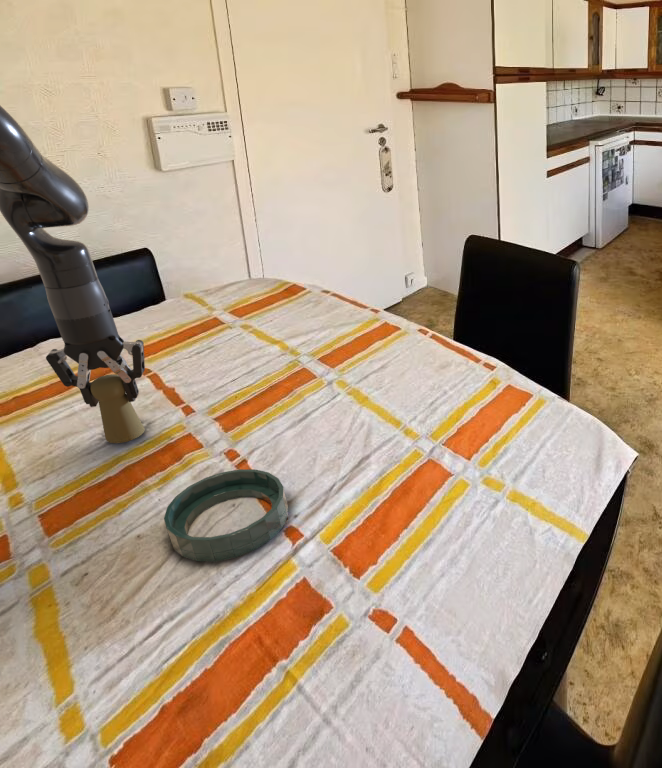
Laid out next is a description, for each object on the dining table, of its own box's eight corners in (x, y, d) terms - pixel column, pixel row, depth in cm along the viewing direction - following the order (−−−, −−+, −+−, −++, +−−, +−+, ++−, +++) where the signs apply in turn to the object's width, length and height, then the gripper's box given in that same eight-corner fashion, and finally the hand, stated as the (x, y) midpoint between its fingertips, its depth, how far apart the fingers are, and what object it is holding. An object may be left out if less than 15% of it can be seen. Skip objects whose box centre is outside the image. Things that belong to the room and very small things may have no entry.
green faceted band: (164, 580, 80) (153, 550, 78) (184, 506, 93) (175, 479, 91) (288, 555, 84) (281, 526, 81) (290, 488, 97) (284, 461, 94)
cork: (145, 436, 108) (126, 380, 103) (105, 446, 105) (84, 390, 100) (143, 421, 113) (125, 367, 108) (105, 430, 110) (84, 375, 105)
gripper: (19, 322, 93) (59, 419, 101) (126, 312, 97) (156, 406, 105) (37, 305, 100) (73, 398, 108) (136, 296, 103) (164, 386, 111)
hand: (114, 401), depth 106 cm, fingers closed on cork, 5 cm apart
